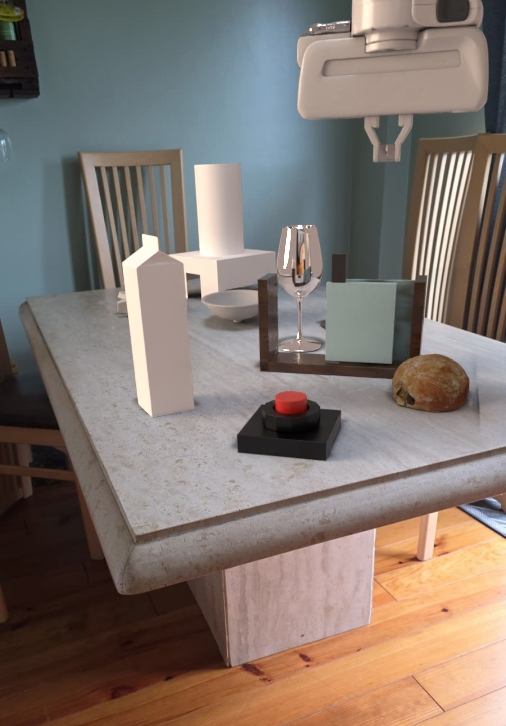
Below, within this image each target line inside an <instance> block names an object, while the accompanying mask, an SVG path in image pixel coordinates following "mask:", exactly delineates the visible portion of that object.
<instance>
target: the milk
mask: <svg viewBox="0 0 506 726" xmlns="http://www.w3.org/2000/svg"><path fill="white" fill-rule="evenodd" d="M141 242H142V246H141V247H140V248H139V249H137V250H136V251H135V252H134V253H132V254H131V255H130V256H128V257H127V258H126V259H124V260H123V261H122V262H121V265H122V274H123V283H124V291H125V292H126V301H127V310H128V313H127V317H128V326H129V327H128V328H129V335H130V343H131V353H132V360H133V369H134V377H135V378H134V379H135V387H136V395H137V403H138V405H139V407H141V408H142V409H143V410H144V411H145V412H146V413H147V414H148V415H149V416H150V417H151V418H153V419H154V418H157V417H163V416H168V415H172V414H178V413H184V412H187V411H192V410H195V397H194V383H193V371H192V370H193V369H192V358H191V357H192V356H191V345H190V333H189V319H188V317H189V316H188V305H187V298H186V290H185V277H184V264H183V263H182V262H180V261H178V260H176V259H175V258H173V257H171V256H169V255H170V254H168V253H167V254H166V253H165V252H163V251H161V250H160V244H159V243H160V242H159V238H158V236H155V235H150V234H147V233H142V234H141Z"/></svg>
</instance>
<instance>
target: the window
mask: <svg viewBox="0 0 506 726" xmlns="http://www.w3.org/2000/svg"><path fill="white" fill-rule="evenodd" d="M347 261H348V253H346V252H333V253H332V254H331V275H330V277H331V281H327V282H326V287H325V288H326V289H325V291H326V292H325V293H326V294H325V295H326V297H325V320H326V328H325V344H324V345H325V351H324V354H325V360H327V361H347V362H366V363H385V364H392V361H393V345H394V329H395V313H396V297H397V283H385V282H346V279H347V264H348V263H347Z"/></svg>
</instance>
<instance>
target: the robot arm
mask: <svg viewBox="0 0 506 726" xmlns="http://www.w3.org/2000/svg"><path fill="white" fill-rule="evenodd" d="M483 19H484V5H483V2H482V0H351V19H346V20H337V21H333V22H329V23H323V22H315V23H313V24H311V25H309V28H307V29H305V30H304V31H303V32H301V34H300V36H299V37H298V39H297V42H296V43H297V45H296V62H297V63H296V64H297V66H298V68H299V70H300V72H299V79H298V87H297V88H298V89H297V112H298V114H299V115H300V116H301V118H302V119H303V120H306V121H308V122H309V121H327V120H328V121H331V120H346V119H347V120H348V119H364V126H363V127H364V131H365V132H366V135H367V136H368V138H369V140H370V143H371V145H373V153H372V154H373V155H372V162H373V163H394V162H395V163H397V162H401V158H402V157H401V156H402V145H403V144H404V142H405V140H406V139H407V137H408V135H409V133H410V132H411V130H412V128H413V126H414V125H413V124H414V116H420V115H439V114H456V113H458V114H459V113H474V112H475V113H476V112H479V111H480V110H481V109H482V108H483V107H484V106H485V105H486V104H487V101H488V96H489V95H488V93H489V73H490V72H489V69H490V68H489V66H490V65H489V48H488V41H487V38H486V36H485V34H484V32H483V31H482V30H481V29H480V27H481V25H482V23H483ZM382 117H383V118H385V117H398V123H397V124H398V127H400V128H402V129H401V130H400V132H399V134H398V136H397V138H396V140H395V142H394V143H389V144H387V143H386V144H382V143H381V140H380V139H379V137H378V135H377V133H376V130H375V129H379V128H380V120H381V119H380V118H382Z"/></svg>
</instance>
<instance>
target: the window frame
mask: <svg viewBox="0 0 506 726" xmlns="http://www.w3.org/2000/svg"><path fill="white" fill-rule="evenodd" d="M346 282H385V283H397V297H396V313H395V329H394V345H393V361H392V364H385V363H366V362H347V361H327V360H325V353H309V352H289V351H279V347H278V345H279V299H278V298H279V297H278V296H279V294H278V293H279V292H278V291H279V289H278V288H279V287H278V280H277V273H268V274H266V275H265V276H263V277H261V278H260V279H258V284H257V291H258V314H257V316H258V342H259V343H258V349H259V371H260V372H270V373H271V372H274V373H290V374H307V375H325V376H339V377H341V376H342V377H343V376H344V377H356V378H357V377H358V378H375V379H392V380H393V377H394V374H395V372H396V370H397V369H398V367H399V366H400V365H401V364H402V363H403V362H405V361H406V360H408V359H410V358H413V357H416V356H420V355H422V350H423V349H422V347H423V338H424V337H423V335H424V325H425V313H426V311H425V310H426V298H427V286H428V275H427V274H423V275H422V274H416V276H415V279H382V278H381V279H379V278H378V279H374V278H372V279H371V278H370V279H369V278H346Z"/></svg>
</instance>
